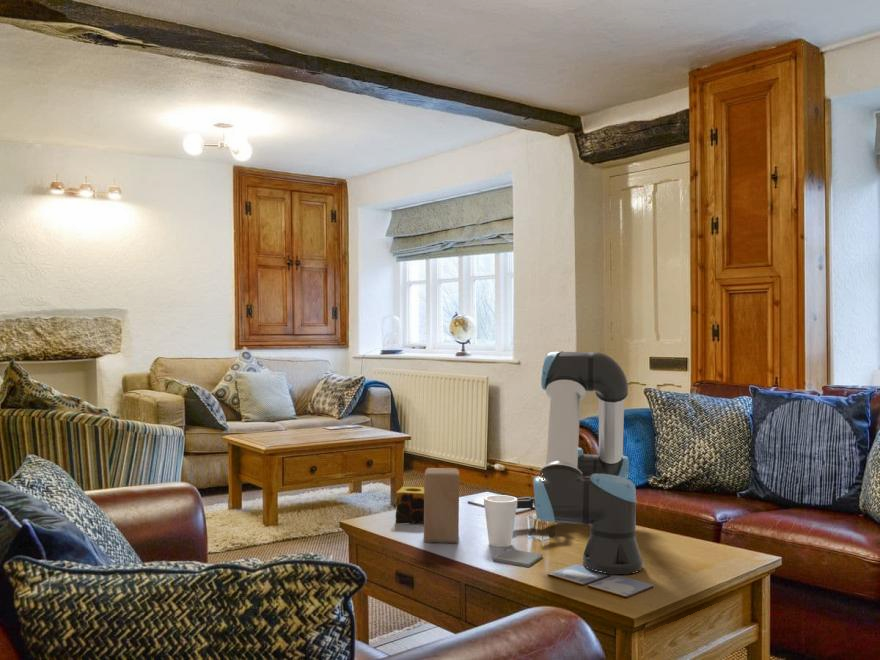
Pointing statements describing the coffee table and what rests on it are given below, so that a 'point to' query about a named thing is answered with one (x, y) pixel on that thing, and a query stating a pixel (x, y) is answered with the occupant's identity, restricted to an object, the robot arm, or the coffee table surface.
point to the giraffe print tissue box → (410, 505)
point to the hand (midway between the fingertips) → (518, 512)
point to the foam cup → (500, 519)
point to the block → (441, 505)
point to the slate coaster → (518, 557)
